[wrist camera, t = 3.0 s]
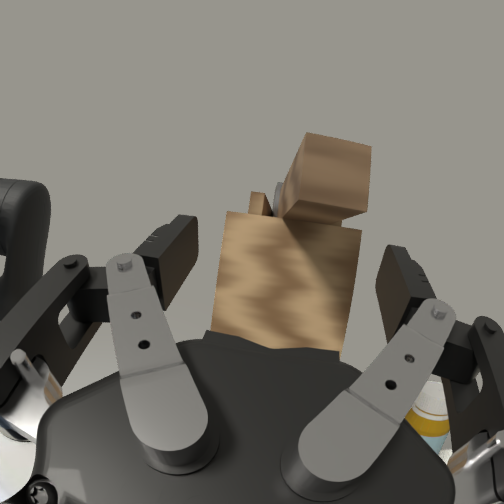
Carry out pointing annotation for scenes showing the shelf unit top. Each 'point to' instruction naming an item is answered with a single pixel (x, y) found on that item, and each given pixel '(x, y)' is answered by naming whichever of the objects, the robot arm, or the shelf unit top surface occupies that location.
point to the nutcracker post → (285, 279)
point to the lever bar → (325, 181)
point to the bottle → (430, 415)
